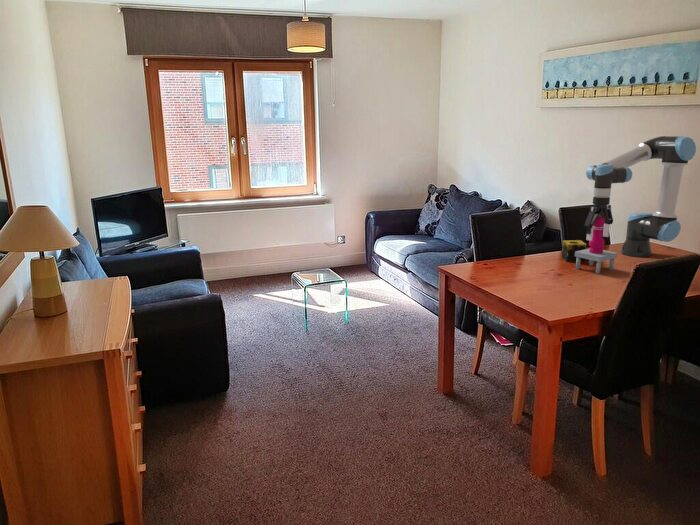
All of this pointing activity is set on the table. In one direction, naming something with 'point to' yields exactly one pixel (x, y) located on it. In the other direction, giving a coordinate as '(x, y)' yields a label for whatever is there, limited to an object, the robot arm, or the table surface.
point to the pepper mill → (597, 236)
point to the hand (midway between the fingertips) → (597, 238)
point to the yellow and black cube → (572, 250)
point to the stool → (595, 258)
